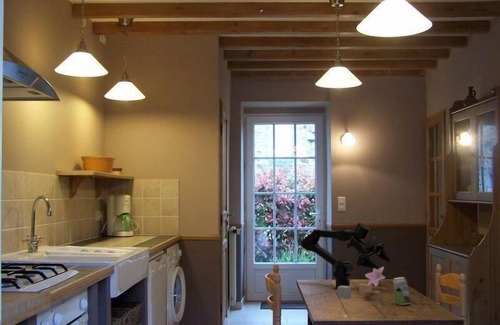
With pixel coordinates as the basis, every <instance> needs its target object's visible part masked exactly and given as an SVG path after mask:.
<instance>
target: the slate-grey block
mask: <svg viewBox="0 0 500 325" xmlns="http://www.w3.org/2000/svg"><path fill="white" fill-rule="evenodd" d="M351 297H352V286H351V285H350V286H339V287H338V289H337V298H339V299H349V298H351Z"/></svg>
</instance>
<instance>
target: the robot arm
mask: <svg viewBox="0 0 500 325" xmlns="http://www.w3.org/2000/svg"><path fill="white" fill-rule="evenodd" d="M370 231H371V227H369V226H368V225H366V224H364V223H361V222H359V223H358V224H357V225H356V227H355V229H354V230H352V229H345V230H330V229H329V230H326V229H320V228H319V229H317V228H316V229H314V230H312V232H310V233H309V234H308V235H306V236H305V237H304V238H303V239H301V242H300V244H301V245H300V246H301V248H302V249H304V250H305V251H309V252H312V253H314V254H316V255H317V256H319V257H320V258H322V259H323V260H325V261H326V262H328V264H331V266H333V268H334V270H335V271H333V277H334V278H335V287H334V289H335V290H338V287H339V286H351V280H350V277H351V276H352V273H353V271H354V267H353V264H352V261H349V260H348V259H347V258H345V257H344V258H338V257H337V256H336V255H334V254H332V253H331V252H330V251H328V250H327V249H326V248H324V247H322V246H321V245H320V244H319V241H320V240H321V238H327V239H336V240H338V241H341V242H348V243H346V248H347V249H352V248H353V249H354V250H355V251H356V252H357V254H358V257H357V259H356V265H357V266H358V267H362V268H364V267H366V268H370V269H377V270H378V269H380V268H379V266H378V265H377V264H376V263H375V262H374V261H373V260H371V258H372V257H373V256H375V255H376V256H377V257H378V258H379V259H382V260H383V261H386V263H387V262H388V263H391V259H390V258H389V256H388V255H387V252H386V247H387V246H386V244H384V243H379V244H378V241H379V240H378V238H377V237H376V236H372V237H371V238H370V239H369V240H367V241H363V240H365V239H366V238H367V237H368V236H369V233H370ZM377 244H378V245H377ZM375 246H376V247H375Z"/></svg>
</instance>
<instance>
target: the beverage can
mask: <svg viewBox="0 0 500 325" xmlns="http://www.w3.org/2000/svg"><path fill="white" fill-rule="evenodd" d="M392 285H393V291H394V298H395V302H396V304H397V305H399V306H404V305H405V306H406V305H408V304H410V303H411V297H410V293H409V287H408V282H407V279H406V278H405V277H404V276H399V277H394V278H393V280H392Z"/></svg>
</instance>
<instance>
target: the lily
mask: <svg viewBox="0 0 500 325" xmlns="http://www.w3.org/2000/svg"><path fill="white" fill-rule="evenodd" d="M384 268H385V266H382V267H380V268H378V269H374V268H372V269H373V270H372V272H368V273H366V274H365V278H367V279H369V280H368V283H367V284H372V285H374V286H375V287H376V286H377V287H378V285H379V284H380V285H382V283H381V280H383V279H385V278H386V276H384V275H383V274H382V273H383V271H384Z"/></svg>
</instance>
